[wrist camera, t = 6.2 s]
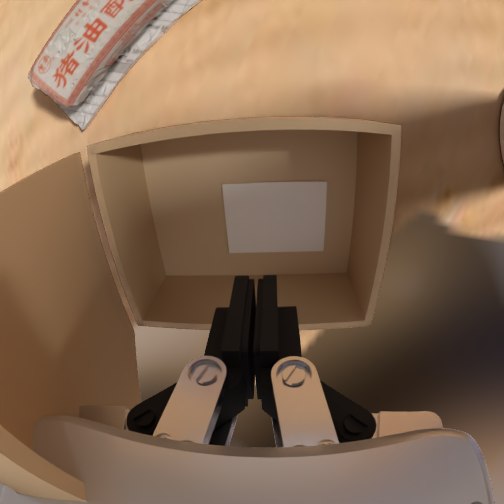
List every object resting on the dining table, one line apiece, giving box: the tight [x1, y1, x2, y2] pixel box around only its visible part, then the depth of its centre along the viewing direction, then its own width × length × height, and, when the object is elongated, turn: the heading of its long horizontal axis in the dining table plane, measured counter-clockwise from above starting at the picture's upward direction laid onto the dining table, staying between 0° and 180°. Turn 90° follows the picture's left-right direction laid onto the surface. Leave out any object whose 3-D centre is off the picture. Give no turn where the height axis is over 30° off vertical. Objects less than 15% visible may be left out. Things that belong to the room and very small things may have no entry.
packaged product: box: [28, 0, 201, 130], centre depth 13 cm, size 18×5×10 cm
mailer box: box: [87, 116, 401, 330], centre depth 19 cm, size 18×14×7 cm
